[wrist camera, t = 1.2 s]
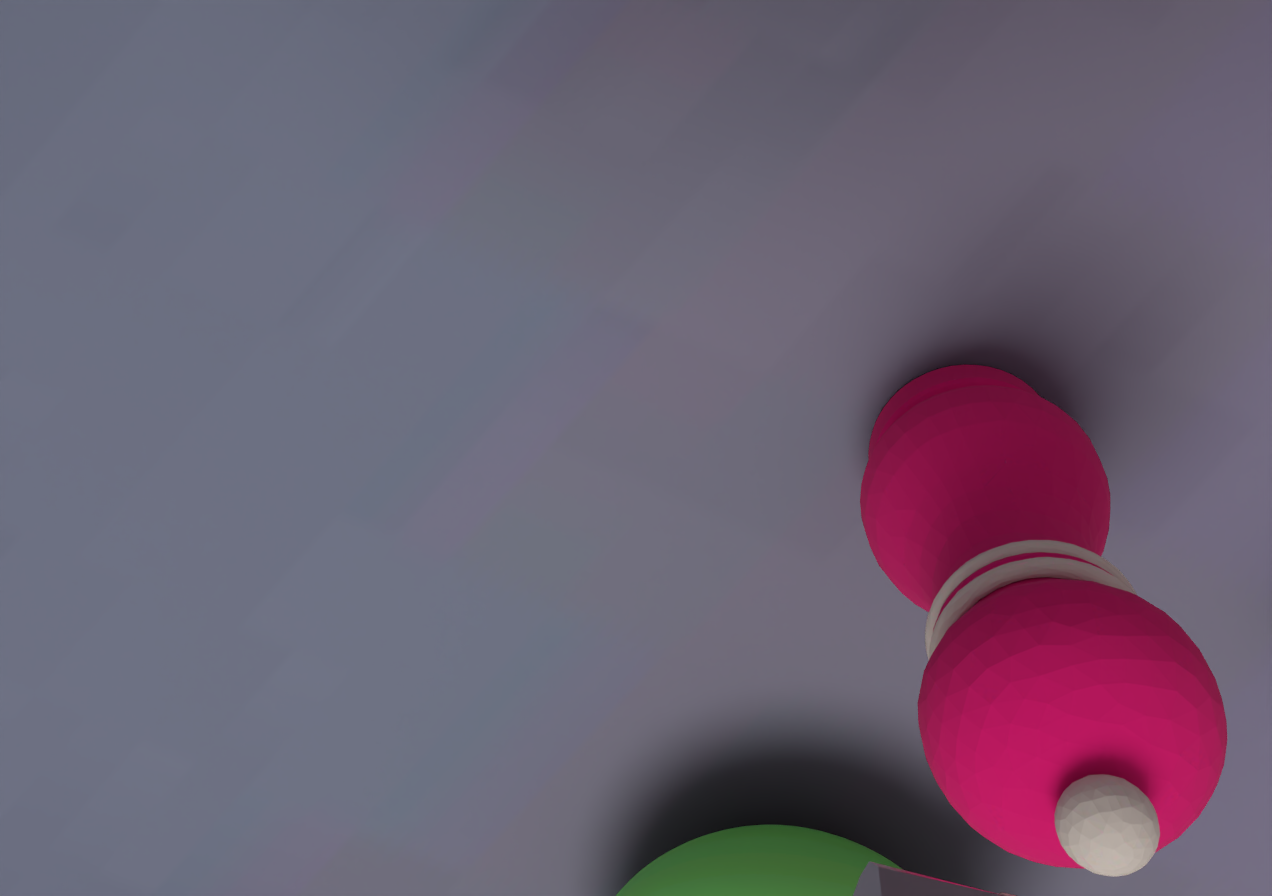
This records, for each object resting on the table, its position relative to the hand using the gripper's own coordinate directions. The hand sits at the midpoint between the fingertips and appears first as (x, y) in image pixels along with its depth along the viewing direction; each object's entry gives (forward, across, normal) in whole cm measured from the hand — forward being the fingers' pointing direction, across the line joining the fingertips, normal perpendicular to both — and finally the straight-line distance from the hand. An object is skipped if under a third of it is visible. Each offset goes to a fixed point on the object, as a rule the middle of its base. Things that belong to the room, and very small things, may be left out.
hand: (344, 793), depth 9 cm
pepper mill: (+30, -11, +5) cm, 32 cm away
